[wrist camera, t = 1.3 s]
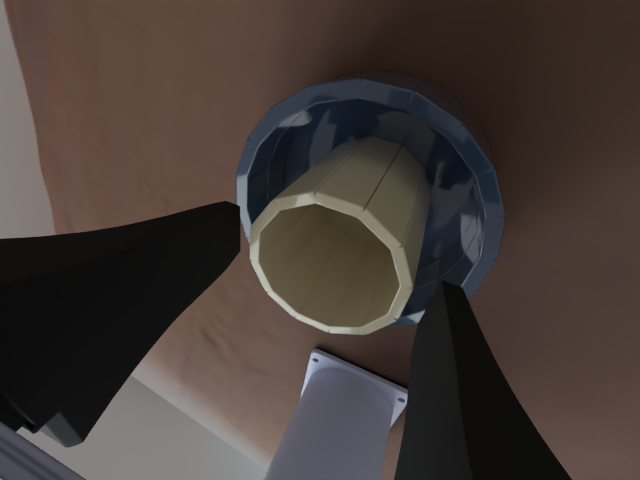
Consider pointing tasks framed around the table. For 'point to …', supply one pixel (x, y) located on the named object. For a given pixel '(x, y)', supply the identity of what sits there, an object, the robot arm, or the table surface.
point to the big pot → (411, 132)
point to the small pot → (345, 238)
